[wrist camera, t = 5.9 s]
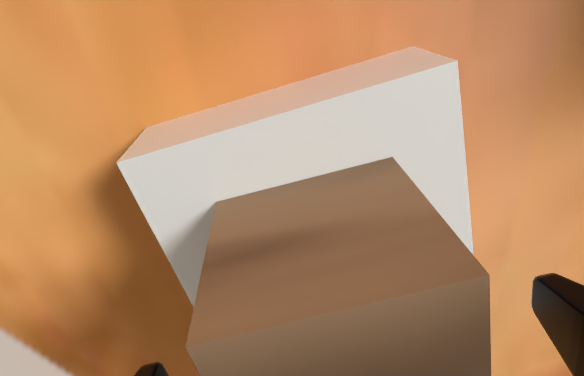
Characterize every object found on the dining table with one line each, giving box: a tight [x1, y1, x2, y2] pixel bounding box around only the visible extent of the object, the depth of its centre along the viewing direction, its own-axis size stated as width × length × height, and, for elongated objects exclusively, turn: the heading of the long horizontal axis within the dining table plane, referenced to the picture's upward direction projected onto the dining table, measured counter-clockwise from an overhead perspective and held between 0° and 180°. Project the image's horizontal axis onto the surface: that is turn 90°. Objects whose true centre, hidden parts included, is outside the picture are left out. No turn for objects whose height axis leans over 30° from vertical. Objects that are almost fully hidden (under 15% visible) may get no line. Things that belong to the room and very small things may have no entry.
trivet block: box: [116, 46, 474, 307], centre depth 13 cm, size 9×9×4 cm
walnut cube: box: [185, 157, 491, 376], centre depth 10 cm, size 5×5×5 cm
